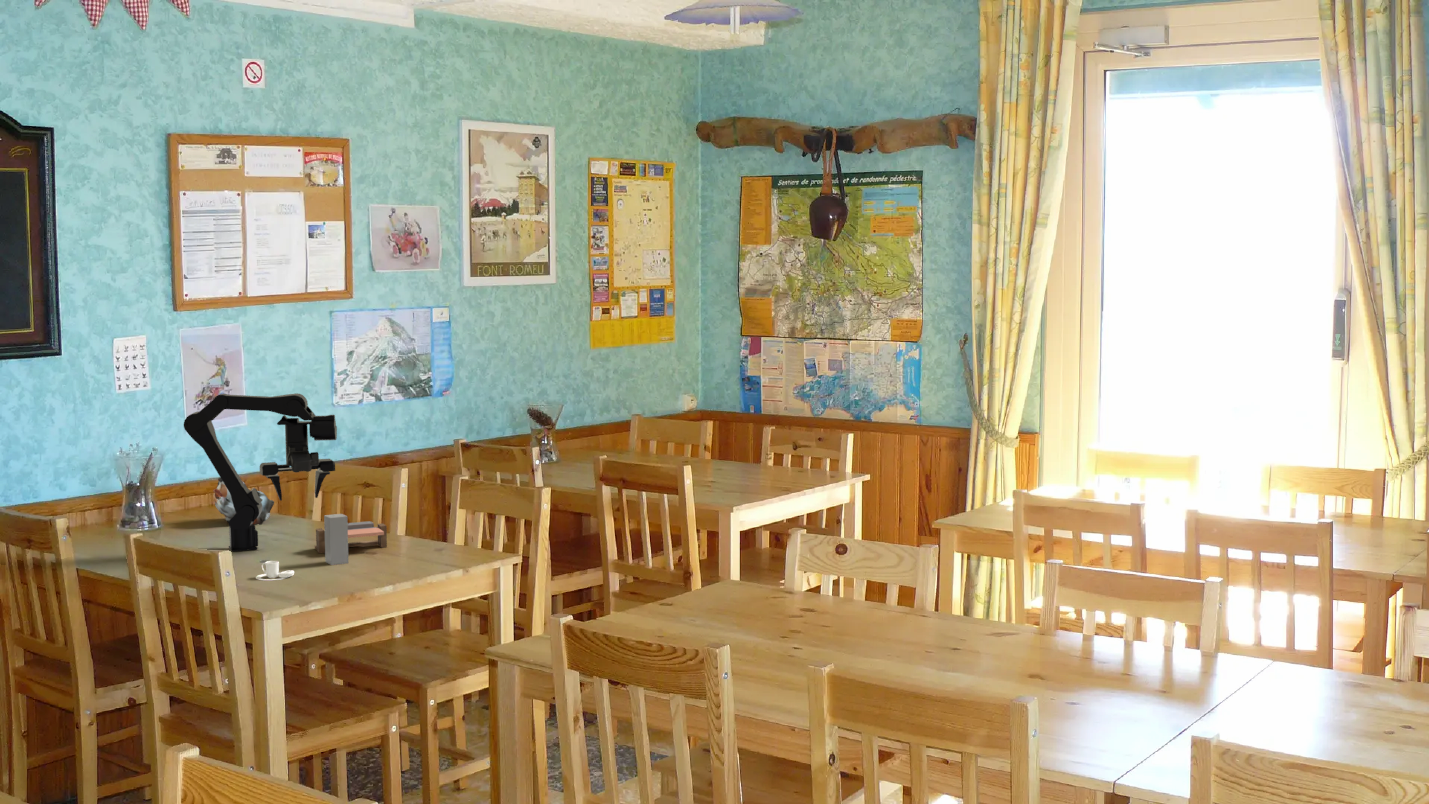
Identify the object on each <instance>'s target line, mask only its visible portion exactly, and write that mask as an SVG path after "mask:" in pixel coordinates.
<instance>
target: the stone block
mask: <svg viewBox="0 0 1429 804" xmlns="http://www.w3.org/2000/svg"><path fill="white" fill-rule="evenodd" d="M323 517H324V519H323V520H324V523H323V525H324V526H323V527H324V531H325V553H324V558H325V559H324V560H325V561H324V562H325V564H328V565H330V566H333V565H336V566H337V565H342V564H343V565H344V564H349V547H348V543H349V538H348V523H349V522H348V516H347V515H345V514H343V513H335V514H326V515H323Z"/></svg>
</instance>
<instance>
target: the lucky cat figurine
mask: <svg viewBox="0 0 1429 804" xmlns="http://www.w3.org/2000/svg"><path fill="white" fill-rule="evenodd" d="M217 480H218V482H217V487H216V488H214V489H213V490H212V491H213V496H212V499H213V501H214V505H215V508H216V509H217V510H218V512H219V513H220V514H222V515H223V516H224V518H225V519H224V520H225V521H226V522H228V521H229V520H230V519H231V518H232V517H233V516H234V515H235V514H236V511H235V509H234V506H233V502H232V498H231V495H230V492H229V491H228V489H227V487H226V486H225V484H224V482H223V481H222V479H221V477H218V479H217ZM242 482H243V484H244V485H245V486H246V487H247V485H246V483H245V482H244V481H243V480H242ZM247 488H248V487H247ZM252 489H253V488H251V489H250V491H251V490H252ZM255 489H256V491H257V494H258V496H259V497H260V498H261V499H262V500H263V501H262V502H261V503H262V507H263V508H262V512H261V513H260V515H259V516H258V517H257V519H255V520H254V523H252V524H254V525H255V524H259V525H262V524H263V523H264V522H266V521H267V520H268V519H269V518H270V517H271V511H272V508H273V507H274V505H275V500H272V499H270V498H268V496H267V495H266V494H265V492H262V491H261V490H258V489H257V488H255ZM255 526H256V525H255Z"/></svg>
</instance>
